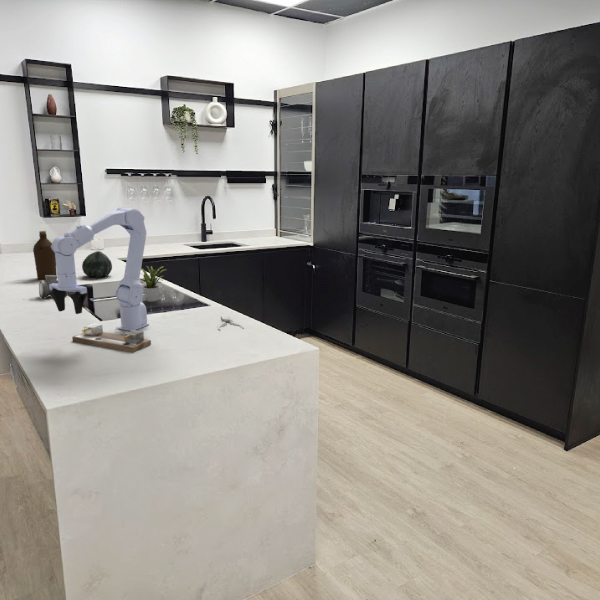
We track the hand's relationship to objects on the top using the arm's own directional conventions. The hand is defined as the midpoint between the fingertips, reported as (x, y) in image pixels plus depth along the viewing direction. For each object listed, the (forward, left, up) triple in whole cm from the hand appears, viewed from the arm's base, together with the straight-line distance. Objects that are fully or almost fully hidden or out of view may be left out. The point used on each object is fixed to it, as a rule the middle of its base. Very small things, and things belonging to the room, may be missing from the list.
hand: (70, 312), depth 178 cm
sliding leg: (-4, +4, -9) cm, 10 cm away
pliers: (-41, +37, -11) cm, 57 cm away
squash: (-88, -73, -10) cm, 115 cm away
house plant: (-59, -12, -10) cm, 61 cm away
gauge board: (-4, +13, -10) cm, 17 cm away
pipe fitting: (-44, -57, -11) cm, 73 cm away
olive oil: (-72, -93, -10) cm, 118 cm away
